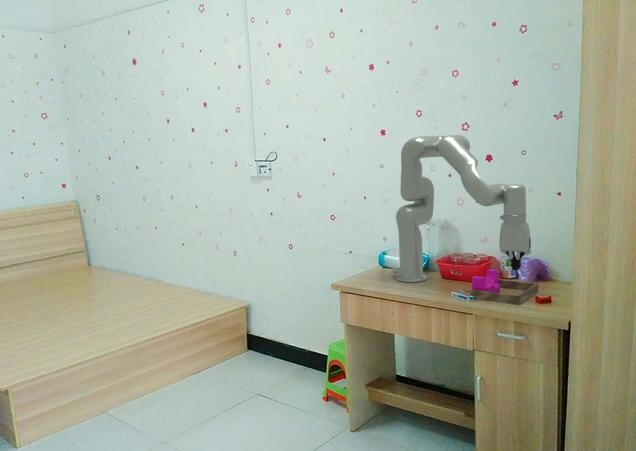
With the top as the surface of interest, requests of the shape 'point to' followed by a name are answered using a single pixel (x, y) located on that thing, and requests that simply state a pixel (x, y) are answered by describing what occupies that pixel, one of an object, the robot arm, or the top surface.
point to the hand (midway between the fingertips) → (515, 269)
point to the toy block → (487, 282)
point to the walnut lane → (507, 298)
